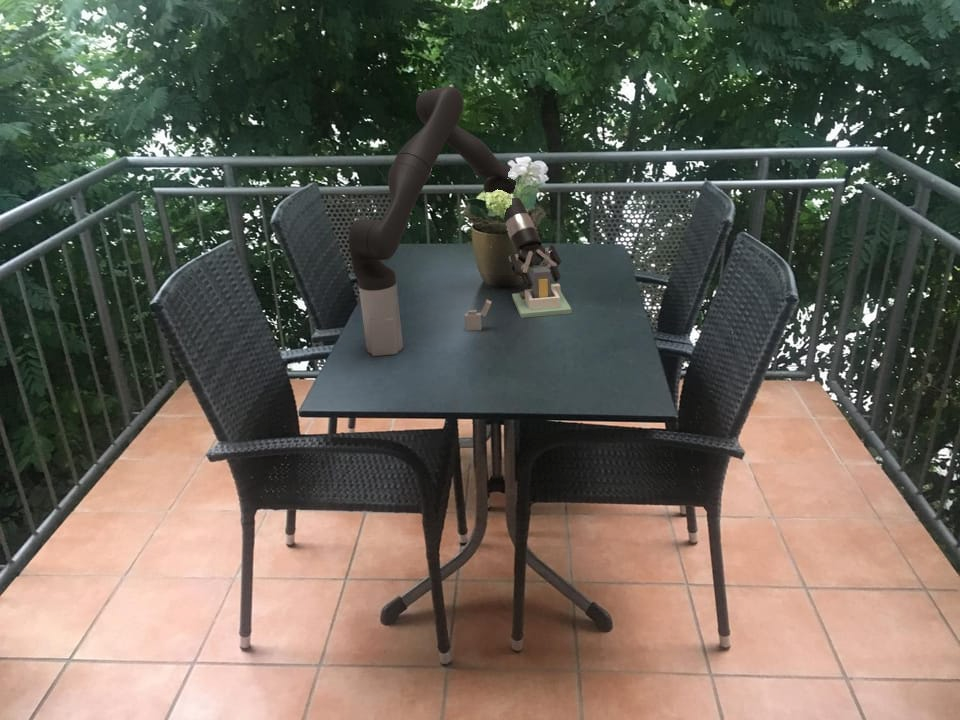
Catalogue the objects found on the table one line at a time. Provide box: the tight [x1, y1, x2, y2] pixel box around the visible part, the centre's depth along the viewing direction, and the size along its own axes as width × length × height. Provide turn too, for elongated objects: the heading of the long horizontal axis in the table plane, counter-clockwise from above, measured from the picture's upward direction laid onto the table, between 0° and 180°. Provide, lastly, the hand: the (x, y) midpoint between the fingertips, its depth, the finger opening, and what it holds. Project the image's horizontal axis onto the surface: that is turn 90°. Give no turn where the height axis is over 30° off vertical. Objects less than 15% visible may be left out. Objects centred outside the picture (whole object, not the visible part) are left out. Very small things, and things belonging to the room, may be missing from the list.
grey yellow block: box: [530, 266, 552, 299], centre depth 213 cm, size 5×4×10 cm
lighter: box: [464, 299, 492, 332], centre depth 203 cm, size 7×2×8 cm, turn 88°
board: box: [511, 283, 573, 319], centre depth 217 cm, size 16×14×4 cm
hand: (544, 283), depth 212 cm, fingers open, 8 cm apart
